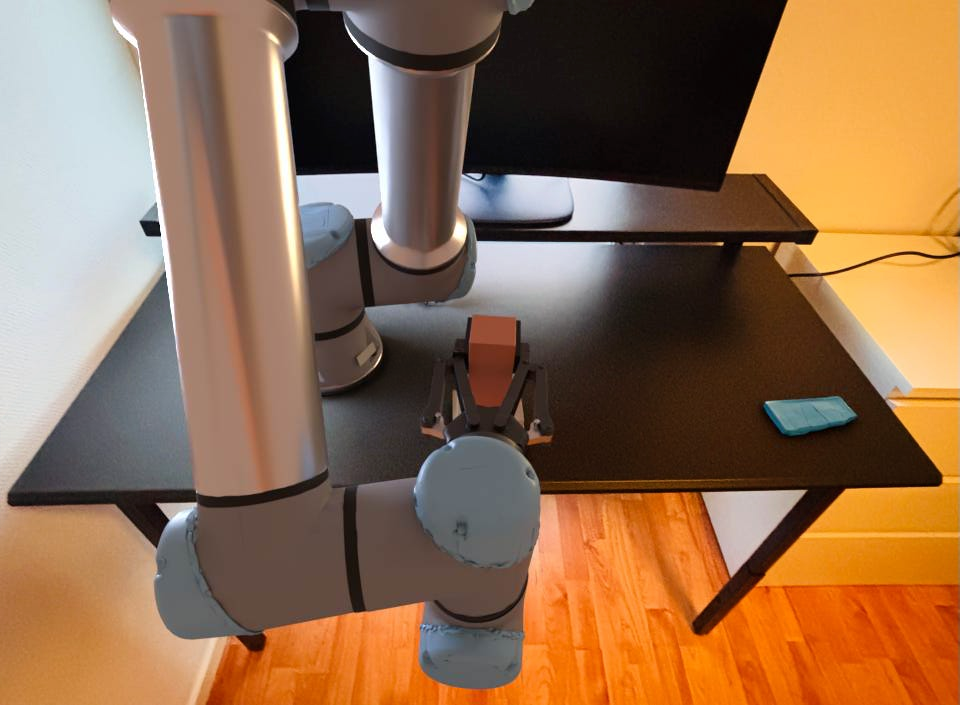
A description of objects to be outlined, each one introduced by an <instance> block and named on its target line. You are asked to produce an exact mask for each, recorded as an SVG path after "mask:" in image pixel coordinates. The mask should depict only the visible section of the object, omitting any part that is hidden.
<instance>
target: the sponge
mask: <svg viewBox="0 0 960 705" xmlns="http://www.w3.org/2000/svg"><path fill="white" fill-rule="evenodd" d="M763 408H764V409H765V412H766V414H767V415H768V416H769V418H770V419H771V420H772V421H773V423H774V424H775V426H776V427H777V429H778V430H779V431H780V432H781V434H782V435H787V436H790V437H792V436H800V435H806V434H809V433H810V432H817V431H821V430H826V429H827V428H828V429H829V428H832V427H839V426H840V427H841V426H844V425H846V424H847V423H851V421H853V420H855V419H856V418H857V417H858V415H857V414H856V412H855V411H854V410H853V409H852V408H851V407H849V405H848V404H847V403H846V402H845V401H844V399H843V398H842V397H840V396H828V397H816V398H804V399H803V398H799V399H782V400H771V401H770V400H768V401H764V403H763Z"/></svg>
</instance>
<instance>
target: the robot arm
mask: <svg viewBox="0 0 960 705" xmlns="http://www.w3.org/2000/svg"><path fill="white" fill-rule="evenodd" d="M108 2H109V11H110V16H111V20H112V23H113V24H114V26H115V27H116V29H117V30H118V32H119V33H120V34H121V35H122V36H123V37H124V38H125V39H126V40H127V41H128V42H130V43H131V45H133V46H134V47H135V48H137V55H138V63H139V70H140V78H141V85H142V91H143V92H142V94H143V101H144V110H145V116H146V122H147V123H146V124H147V133H148V139H149V147H150V157H151V162H152V164H151V165H152V170H153V180H154V186H155V188H154V189H155V194H156V203H157V210H158V219H159V225H160V233H161V241H162V251H163V256H164V265H165V272H166V279H167V280H166V281H167V287H168V295H169V304H170V312H171V318H172V327H173V334H174V340H175V341H174V342H175V350H176V358H177V365H178V373H179V381H180V390H181V396H182V404H183V405H182V406H183V413H184V421H185V428H186V436H187V443H188V452H189V458H190V459H189V460H190V466H191V474H192V481H193V489H194V492H195V499H196V506H193V507H192V508H187V509H185V510H181V511H180V512H178V513H176V514H175V515H174V516H172V518H171V519H170V520H169V521H168V522H167V524H166V525H165V526H164V529H163V531H162V533H161V536H160V538H159V540H158V544H157V548H156V553H155V563H156V574H155V577H154V580H153V591H154V592H153V593H154V599H155V605H156V607H157V608H156V609H157V613H158V614H159V617H160V619H161V621H162V623H163V625H164V626H165V628H166V629H167V630H168V631H169V633H171V634H172V635H174V636H175V637H177V638H180V639H182V640H190V641H192V640H193V641H194V640H205V639H214V638H226V637H236V636H255V635H261V634H262V633H263V632H264V631H265V630H271V629H276V628H282V627H286V626H291V625H297V624H298V625H299V624H303V623H308V622H312V621H317V620H322V619H328V618H333V617H339V616H343V615H349V614H353V613H354V614H359V613H371V612H377V611H382V610H389V609H393V608H394V609H395V608H399V607H404V606H410V605H415V604H421V603H423V611H422V612H423V613H422V619H421V622H419V627H418V628H419V632H420V634H419V635H420V636H419V637H420V638H419V647H418V665H419V667H420V669H421V671H422V672H423V673H424V674H425V675H426V676H427V677H428V678H429V679H431V680H433V681H434V682H436V683H439V684H442V685H444V686H448V687H452V688H457V689H465V690H467V689H468V690H491V689H498V688H501V687H504V686H507V685H509V684H511V683H513V682H514V681H516V679H517V678H518V677H519V675H520V673H521V670H522V667H523V652H524V651H523V650H524V640H525V638H526V632H525V630H524V610H525V609H524V607H525V597H526V593H527V588H528V585H529V577H530V576H529V569H530V565H531V561H532V558H533V553H534V551H535V548H536V545H537V542H538V541H539V540H538V539H539V536H540V528H541V520H540V518H541V511H542V510H541V509H542V507H541V495H542V494H541V487H540V479H539V478H538V476H537V473H536V471H535V469H534V468H533V466H532V464H531V463H530V461H529V460H528V459H527V458H526V457H525V453H526V452H527V450H528V448H529V446H532V445H537V444H540V446H542V447H544V448H548V447H550V446H552V443H553V438H554V431H555V425H554V423H553V421H552V419H551V416H550V414H549V402H548V400H549V398H548V397H549V396H548V366H547V364H546V363H544V362H539V363H537V364H536V363H533V362H532V360H531V344H530V343H529V342H522V338H521V337H522V320H519V319H516V347H515V357H514V367H513V374H514V377H513V379H512V381H511V384H510V386H509V389H508V391H507V394H506V396H505V397H504V399H503V401H502V404H501V406H500V407H499V406H494V407H485V406H482V405H476V403H475V399H474V396H473V395H472V391H471V387H470V383H469V379H468V375H467V374H468V371H469V341H470V332H471V324H472V316H467V321H466V329H465V335H464V336H465V337H464V338H456V340H455V341H454V347H453V350H452V352H451V353H452V354H451V355H452V356H450V357H448V358H446V356H437V357H436V358H435V362H434V368H433V374H432V380H431V386H430V391H429V399H428V404H427V406H426V408H425V410H424V411H423V413H422V414H421V415H420V417H419V428H420V436H421V438H423V439H426V440H428V439H431V438H432V437H435V438H438V439H441V440H442V442H443V444H444V445H443V446H441V447H439V448H438V449H435V450H434V451H432V452H431V453H430V454H429V455H428V456H427V458H426V459H425V461H424V462H423V464H422V465H421V468H420V470H419V472H418V475H417V476H416V477H408V478H399V479H393V480H386V481H378V482H371V483H365V484H364V483H363V484H353V485H348V486H344V487H334V488H333V487H332V483H331V479H330V473H329V466H330V463H329V455H328V454H329V453H328V452H329V451H328V444H327V436H326V426H325V417H324V410H323V400H322V396H330V395H331V396H332V395H338V394H343V393H346V392H349V391H351V390H354V389H356V388H358V387H361V386H362V385H364V384H366V383H367V382H368V381H369V380H371V379H372V378H373V377H374V376H375V375H376V374H377V372H378V371H379V370H380V368H381V366H382V364H383V362H384V346H383V341H382V338H381V336H380V334H379V332H378V330H377V328H376V327H375V325H374V324H373V322H372V320H371V318H370V316H369V315H368V314H367V312H366V308H377V307H387V306H399V305H411V304H421V303H422V304H424V303H427V302H428V303H433V302H434V303H435V301H436V302H438V303H446V302H448V301H451V300H460V299H462V298H464V297H465V296H467V295H468V294H469V293H470V291H471V289H472V288H473V285H474V282H475V279H476V275H477V273H476V272H477V267H476V264H477V262H478V241H477V235H476V234H477V233H476V229H475V224H474V222H473V220H472V218H471V217H470V216H469V215H468V214H466V213H464V212H463V211H462V210H461V208H460V207H459V206H458V205H459V198H460V190H461V182H462V173H463V166H464V159H465V151H466V143H467V135H468V128H469V127H468V126H469V119H470V112H471V111H470V110H471V103H472V94H473V87H474V78H475V70H476V64H478V63H480V62H481V61H482V60H484V59H485V58H486V57H487V56H488V55H489V54H490V53H491V52H492V51H493V49H494V47H495V46H496V44H497V42H498V39H499V36H500V34H501V27H502V21H503V14H504V12H509V14H510V15H513V16H515V15H517V14H518V13H520V12H524V11H527V10H528V9H529V8H531V7H532V5H533V3H534V2H535V0H109V1H108ZM302 10H308V11H310V12H312V11H313V12H315V11H318V12H321V11H322V12H323V11H327V12H329V11H330V12H342V16H343V22H344V26H345V29H346V31H347V33H348V35H349V36H350V38H351V40H352V41H353V43H355V45H356V46H357V47H358V48H359V49H360V50H361V51H362V52H363V53H364V54H365V55H367V58H368V68H369V70H368V71H369V80H370V92H371V101H372V103H371V104H372V114H373V124H374V134H375V145H376V146H375V147H376V157H377V158H376V159H377V168H378V170H377V171H378V178H379V190H380V203H379V204H378V205H377V207H376V208H375V210H374V212H373V214H372V217H366V218H365V217H364V218H363V217H362V218H355V217H354V216H353V214H352V213H351V211H350V210H349V209H348V207H346V206H344V205H342V204H339V203H337V204H335V203H333V202H329V201H319V202H311V203H306V204H301V205H300V197H299V187H298V179H297V178H298V177H297V171H296V170H297V168H296V162H295V153H294V144H293V143H294V142H293V134H292V125H291V117H290V108H289V98H288V91H287V82H286V81H287V80H286V72H285V62H286V61H287V60H288V59H290V58H291V56H292V55H293V54H294V53H295V52H296V50H297V48H298V44H299V29H298V20H297V11H302ZM450 375H452V376H453V377H452V378H453V381H454V382H453V383H454V386H455V390H456V391H457V396H458V401H459V405H460V410H461V414H460V415H459V416H457V417H456V418H455V419H454V420H453V419H452V421H450V422H449V423H448V424H447V425H445V419H444V416H443V415H442V414H443V407H444V399H445V391H446V384H447V377H448V376H450ZM529 380H530V381H533V421H532V422H531V423H530V425H529V430H526V429H525V427H524V428H523V427H522V426H521V424H520V423H519V422H518V421H517V420H516V419H515V418H514V416H515V413H516V410H517V408H518V405H519V402H520V400H521V401H522V398H523V394H524V391H525V390H526V386H527V384H528V383H529Z"/></svg>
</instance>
